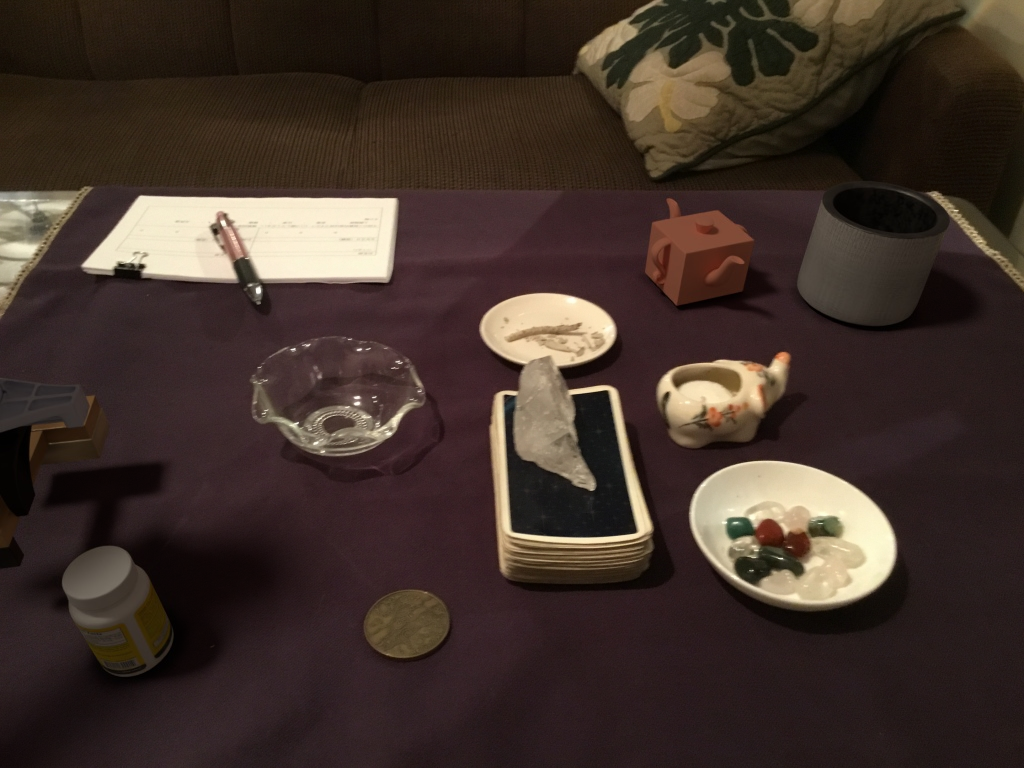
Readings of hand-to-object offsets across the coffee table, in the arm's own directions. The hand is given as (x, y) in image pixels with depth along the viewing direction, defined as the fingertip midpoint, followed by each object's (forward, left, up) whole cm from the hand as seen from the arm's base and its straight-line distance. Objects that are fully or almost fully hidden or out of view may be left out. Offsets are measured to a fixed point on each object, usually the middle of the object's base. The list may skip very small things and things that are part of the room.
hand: (9, 507), depth 54 cm
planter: (+78, +24, -7) cm, 82 cm away
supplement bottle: (+8, -8, -7) cm, 13 cm away
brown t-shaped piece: (0, +4, -2) cm, 4 cm away
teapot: (+61, +29, -7) cm, 68 cm away
